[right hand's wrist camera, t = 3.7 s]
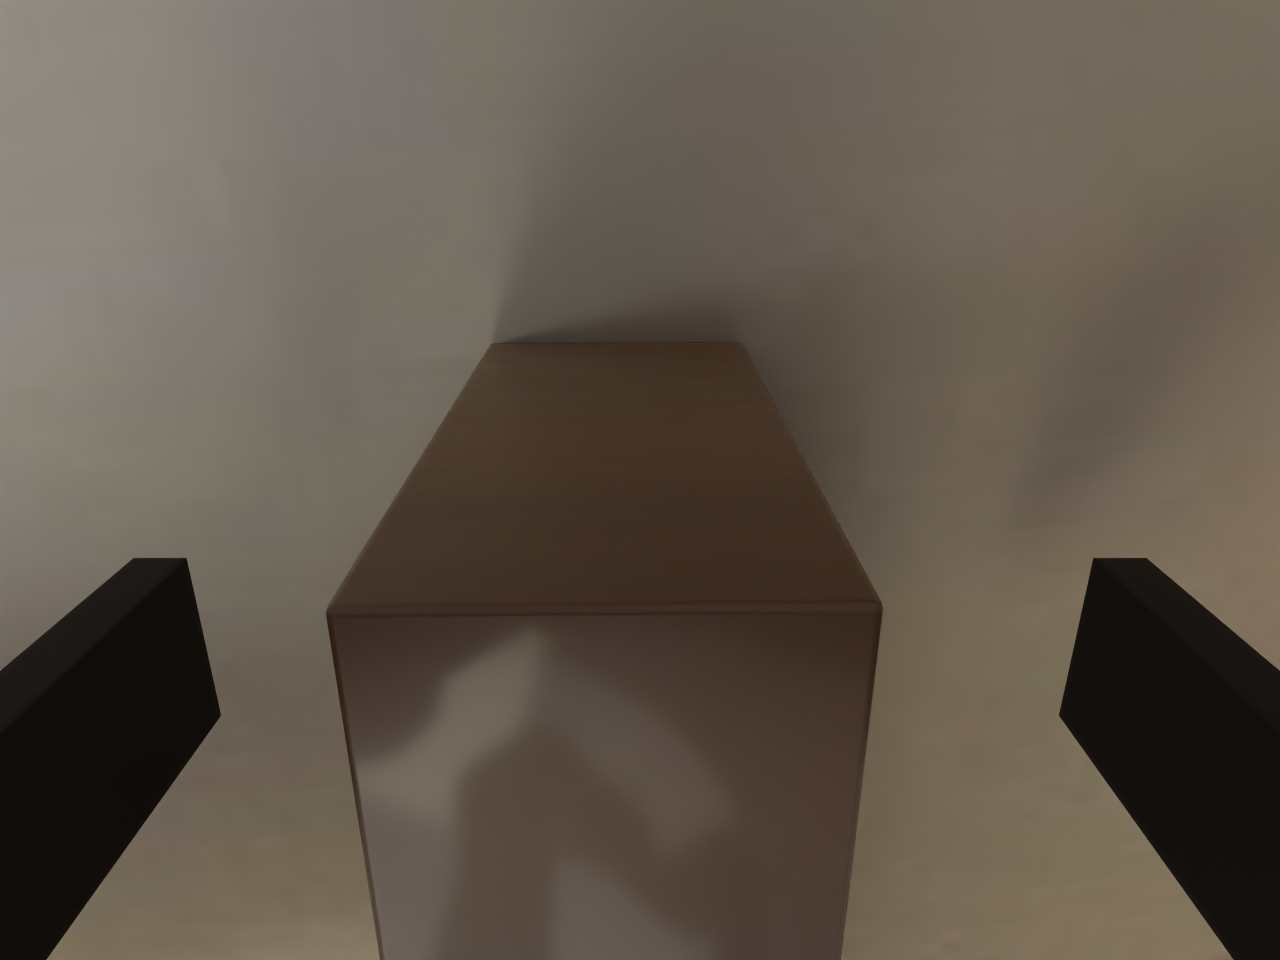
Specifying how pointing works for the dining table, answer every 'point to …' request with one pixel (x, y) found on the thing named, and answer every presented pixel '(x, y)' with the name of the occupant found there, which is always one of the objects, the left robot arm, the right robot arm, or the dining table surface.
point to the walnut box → (608, 671)
